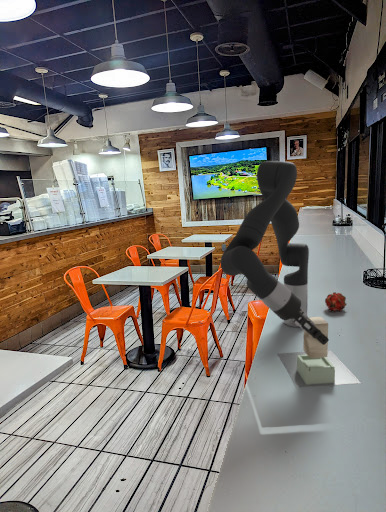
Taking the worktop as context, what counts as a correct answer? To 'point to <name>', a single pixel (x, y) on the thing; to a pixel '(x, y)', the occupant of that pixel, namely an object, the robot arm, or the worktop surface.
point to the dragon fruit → (335, 301)
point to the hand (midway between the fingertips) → (321, 337)
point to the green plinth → (315, 370)
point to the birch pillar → (313, 345)
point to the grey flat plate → (340, 378)
